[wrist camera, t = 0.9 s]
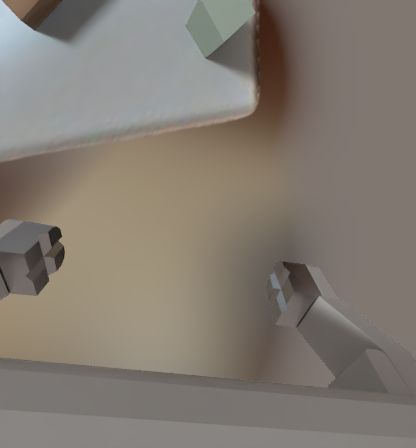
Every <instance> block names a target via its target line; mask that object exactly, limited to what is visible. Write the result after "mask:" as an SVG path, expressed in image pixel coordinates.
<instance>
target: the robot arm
mask: <svg viewBox="0 0 416 448" xmlns="http://www.w3.org/2000/svg"><path fill="white" fill-rule="evenodd" d="M61 237H62V234H61V230H60V228H58V227H56V226H50V225H45V224H39V223H33V222H26V221H21V220H15V219H10V220H6V221H5V222H3V223H1V224H0V300H1V299H2V298H4V297H6V296H8V295H9V293H12V294H23V295H33V296H37V295H38V294H39V293H40V291H41V290H42V289H43V288H44V287H45V285H46V284H47V283H48V282H49V276H48V275H50V274H52V273H54V272H56V271H57V270H58V269H59V267H60V266H61V265H62V262H63V260H64V255H65V250H64V246H63V245H62V244H61V243H60V242H59V239H60V238H61ZM274 271H275V273H273V274H272V275H270V276H269V279H268V281H267V286H266V293H267V297H268V300H269V301H270V302H271V303H272V304H273V306H272V307H271V312H272V316H273V319H274V322H275V325H282V326H288V327H295V328H297V330H298V331H299V333H300V334H301V335H302V336H303V337H304V339H305V340H306V341H307V342H308V344H309V345H310V346H311V347H312V349H313V350H314V351H315V352H316V354H317V355H318V356H319V357H320V358H321V360H322V361H323V362H324V363H325V365H326V366H327V367H328V368H329V370H330V371H331V372H332V373H333V375H334V376H335V377H336V378H335V380H333V381H332V382H331V384H329V385H328V387H327V388H325V387H314V386H303V385H293V384H282V383H271V382H260V381H249V380H239V379H228V378H216V377H206V376H196V375H185V374H174V373H162V372H152V371H141V370H130V369H119V368H108V367H97V366H86V365H76V364H64V363H54V362H43V361H32V360H21V359H10V358H0V448H416V359H415V358H414V357H413V356H412V354H411V353H410V352H409V351H408V350H406V349H405V348H404V347H403V346H401V345H400V344H399V343H397V342H396V341H395V340H394V339H392V338H391V337H390V336H388V335H387V334H385V333H384V332H383V331H382V330H381V329H379V328H378V327H377V326H375V325H374V324H373V323H372V322H370V321H369V320H368V319H366V318H365V317H364V316H362V315H361V314H360V313H359V312H357V311H356V310H355V309H354V308H352V307H351V306H350V305H348V304H347V303H346V302H345V301H343V300H342V299H340V298H337V297H336V296H335V294H334V293H333V291H332V289H331V287H330V286H329V284H328V283H327V281H326V279H325V277H324V276H323V274H322V273H321V271H320V270H319V268H318V267H317V266H316V265H310V264H300V263H293V262H286V261H277V262H276V264H275V266H274Z"/></svg>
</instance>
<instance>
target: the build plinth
mask: <svg viewBox="0 0 416 448" xmlns="http://www.w3.org/2000/svg"><path fill="white" fill-rule="evenodd" d="M2 1H3V2H4V3H5V4H6V5H7V6H8V7H9V8H10V9H11V10H12V12H13V13H14V14H15V15H16V16H17V17H18V18H19V19H20V20H21V21H22V22H24V23H25V24H26V25H28V26H29V27H30V28H32V29H33V30H35V29H36V28H37V27H38V26H39V25H40V24H41V23H42V22H43V20H44V19H45V18H46V17H47V16H48V15H49V14H50V13H51V12H52V11H53V10H54V9H55V7H56V6H57V5H58V4H59V3H60V2H61V1H62V0H2Z"/></svg>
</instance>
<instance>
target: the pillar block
mask: <svg viewBox="0 0 416 448" xmlns="http://www.w3.org/2000/svg"><path fill="white" fill-rule="evenodd" d="M254 14H255V11H254V9H253V6H252V4H251V2H250V0H198V2H197V4H196V6H195V8H194V10H193V12H192V14H191V16H190V18H189V20H188V22H187V24H186V28H187V29H188V31H189V32H190V34H191V36H192V37H193V39H194V41H195V42H196V44H197V46H198V47H199V49H200V50H201V52H202V54H203V55H204V57H205V58H206V57H207V56H209V55H210V54H211V53H212V52H213V51H215V50H216V49H217V48H218V47H219V46H221V45H222V44H223V43H224V42H225V41H226V40H227V39H228V38H229V37H230V36H231V35H233V34H234V33H235V32H236V31H237V30H238V29H239V28H240V27H241V26H242V25H243V24H244V23H245V22H246V21H247V20H248V19H249V18H250V17H252V16H253V15H254Z"/></svg>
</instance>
